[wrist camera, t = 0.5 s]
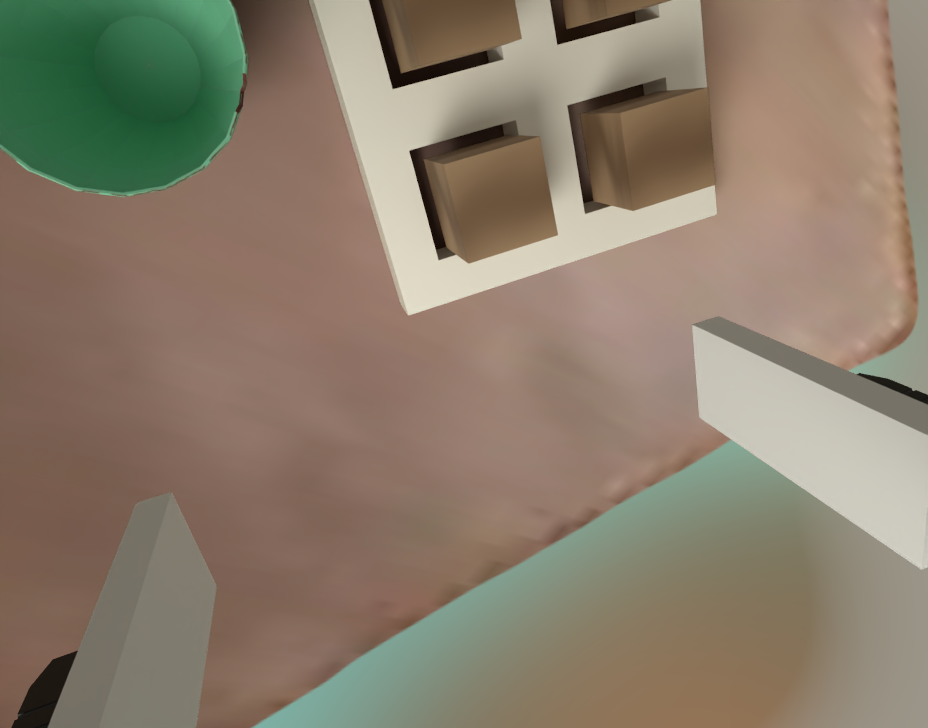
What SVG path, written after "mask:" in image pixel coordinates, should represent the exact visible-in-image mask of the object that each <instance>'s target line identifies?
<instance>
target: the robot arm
mask: <svg viewBox="0 0 928 728" xmlns="http://www.w3.org/2000/svg"><path fill="white" fill-rule="evenodd" d="M692 328H693V341H694V354H695V366H696V379H697V392H698V405H699V417H700V418H701V419H702V420H704V421H705V422H707V423H708V424H710V425H711V426H713V427H714V428H716V429H717V430H719V431H720V432H721V433H723V434H724V435H726V436H727V437H729V438H730V439H732V440H733V441H735V442H736V443H738V444H739V445H740V446H742V447H743V448H745V449H746V450H748V451H749V452H751V453H752V454H754V455H755V456H756V457H758V458H760V459H761V460H762V461H764V462H765V463H767V464H768V465H770V466H771V467H773V468H774V469H775V470H777V471H779V472H780V473H781V474H783V475H784V476H786V477H787V478H789V479H790V480H791V481H793V482H794V483H796V484H797V485H799V486H800V487H802V488H803V489H805V490H806V491H808V492H809V493H811V494H812V495H813V496H815V497H816V498H818V499H819V500H821V501H822V502H824V503H825V504H827V505H828V506H829V507H831V508H832V509H834V510H835V511H837V512H838V513H840V514H841V515H843V516H844V517H846V518H847V519H848V520H850V521H851V522H853V523H854V524H856V525H857V526H859V527H860V528H862V529H863V530H865V531H866V532H867V533H869V534H870V535H872V536H873V537H875V538H876V539H878V540H879V541H881V542H882V543H884V544H885V545H886V546H888V547H889V548H891V549H892V550H894V551H895V552H897V553H898V554H900V555H901V556H903V557H904V558H906V559H907V560H908V561H910V562H911V563H913V564H914V565H916V566H917V567H919V568H920V569H925V568H927V567H928V395H927V394H924V393H922V392H919V391H917V390H916V391H912V389H911V388H909V387H907V386H904V385H902V384H900V383H897V382H895V381H892V380H890V379H886V378H881V377H876V376H871V375H866V374H861V373H859V374H854V373H851V372H849V371H847V370H844V369H842V368H840V367H837V366H835V365H833V364H830V363H828V362H826V361H823V360H821V359H818V358H816V357H814V356H811V355H809V354H807V353H804V352H802V351H800V350H797V349H795V348H792V347H790V346H788V345H785V344H783V343H781V342H778V341H776V340H774V339H771V338H769V337H766V336H764V335H762V334H759V333H757V332H755V331H752V330H750V329H748V328H745V327H743V326H740V325H738V324H736V323H733V322H731V321H729V320H726V319H724V318H721V317H719V316H718V317H714V318H711V319H708V320H705V321H702V322H699V323H696V324H693V325H692ZM216 587H217V586H216V584H215V581H214V579H213V577H212V575H211V573H210V571H209V569H208V567H207V565H206V563H205V561H204V559H203V556H202V554H201V552H200V550H199V548H198V546H197V544H196V542H195V540H194V538H193V536H192V534H191V531H190V529H189V527H188V525H187V523H186V521H185V519H184V517H183V515H182V513H181V511H180V508H179V506H178V504H177V502H176V500H175V498H174V496H173V494H172V492H169V493H166V494H163V495H160V496H157V497H154V498H150V499H147V500H144V501H141V502H138V503H136V505H135V507H134V510H133V512H132V515H131V518H130V520H129V523H128V525H127V528H126V530H125V533H124V535H123V538H122V540H121V543H120V545H119V548H118V550H117V553H116V556H115V558H114V561H113V563H112V566H111V568H110V571H109V573H108V576H107V578H106V581H105V583H104V586H103V589H102V591H101V594H100V596H99V599H98V601H97V604H96V606H95V609H94V611H93V614H92V616H91V619H90V622H89V624H88V627H87V629H86V632H85V634H84V637H83V639H82V642H81V644H80V647H79V649H78V651H76V652H73V653H70V654H67V655H64V656H61V657H58V658H56V659H53V660H52V661H51V662H50V664H49V665H48V666H47V667H46V668H45V670H44V671H43V672H42V673H41V674H40V676H39V677H38V678H37V679H36V681H35V682H34V683H33V684H32V685H31V687H30V688H29V690H28V693H27V695H26V697H25V699H24V701H23V704H22V706H21V708H20V710H19V712H18V719H17V720H15V721H14V723H13V725H12V728H196V724H197V717H198V710H199V704H200V697H201V690H202V683H203V676H204V669H205V662H206V655H207V648H208V642H209V635H210V628H211V621H212V614H213V607H214V600H215V593H216Z"/></svg>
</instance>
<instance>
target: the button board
mask: <svg viewBox="0 0 928 728" xmlns="http://www.w3.org/2000/svg"><path fill="white" fill-rule="evenodd" d="M309 4H310V7H311V10H312V13H313V17H314V20H315V23H316V27H317V30H318V33H319V37H320V40H321V43H322V46H323V50H324V53H325V56H326V60H327V63H328V66H329V69H330V73H331V76H332V79H333V83H334V86H335V89H336V93H337V96H338V99H339V102H340V106H341V109H342V112H343V116H344V119H345V122H346V126H347V129H348V132H349V135H350V139H351V142H352V145H353V149H354V152H355V155H356V159H357V162H358V165H359V168H360V172H361V175H362V178H363V182H364V185H365V188H366V192H367V195H368V198H369V201H370V205H371V208H372V211H373V215H374V218H375V221H376V225H377V228H378V231H379V234H380V238H381V241H382V244H383V248H384V251H385V254H386V258H387V261H388V264H389V267H390V271H391V274H392V277H393V281H394V284H395V287H396V291H397V294H398V297H399V300H400V304H401V305H402V307H403V308H404V310H405V311H406V313H407V314H408V315H411V314H414V313H418V312H421V311H424V310H427V309H430V308H433V307H436V306H439V305H442V304H445V303H448V302H451V301H454V300H457V299H460V298H463V297H466V296H469V295H472V294H475V293H478V292H482V291H485V290H488V289H491V288H494V287H497V286H500V285H503V284H506V283H509V282H512V281H515V280H518V279H521V278H524V277H527V276H530V275H533V274H536V273H539V272H543V271H546V270H549V269H552V268H555V267H558V266H561V265H564V264H567V263H570V262H573V261H576V260H579V259H582V258H585V257H588V256H591V255H594V254H597V253H600V252H604V251H607V250H610V249H613V248H616V247H619V246H622V245H625V244H628V243H631V242H634V241H637V240H640V239H643V238H646V237H649V236H652V235H655V234H658V233H661V232H664V231H668V230H671V229H674V228H677V227H680V226H683V225H686V224H689V223H692V222H695V221H698V220H701V219H704V218H707V217H710V216H713V215H716V214H717V210H716V197H715V185H713V186H710V187H707V188H704V189H701V190H698V191H695V192H691V193H688V194H685V195H682V196H679V197H676V198H673V199H670V200H666V201H663V202H660V203H657V204H654V205H651V206H648V207H645V208H641V209H638V210H635V211H631V210H627V209H623V208H619V207H615V206H611V205H607V204H603V203H599V202H595V201H591V202H587V203H584V204H583V199H582V193H581V186H580V180H579V174H578V168H577V162H576V156H575V150H574V144H573V138H572V132H571V125H570V119H569V113H568V107H567V105H570V104H574V103H577V102H581V101H584V100H588V99H591V98H595V97H598V96H602V95H605V94H609V93H612V92H616V91H619V90H623V89H626V88H630V87H633V86H637V85H640V84H643V90H644V95H647V94H651V93H654V92H658V91H668V90H681V89H693V88H706V87H707V81H706V68H705V55H704V42H703V29H702V16H701V3H700V0H671V1H668V2H665V3H661V4H658V5H655V6H652V7H648V8H644V9H641V10H637V11H634V12H635V21H636V24H633V25H629V26H626V27H622V28H618V29H614V30H611V31H607V32H603V33H600V34H596V35H592V36H589V37H585V38H581V39H577V40H574V41H570V42H566V43H563V44H559V45H557V40H556V34H555V28H554V22H553V16H552V10H551V4H550V0H515V4H516V9H517V15H518V20H519V25H520V31H521V36H522V39H520V40H517V41H514V42H511V43H508V44H505V45H502V46H499V47H496V48H494V49H490V50H487V55H488V60H489V63H488V64H485V65H481V66H477V67H474V68H470V69H466V70H462V71H459V72H455V73H451V74H448V75H444V76H440V77H437V78H433V79H429V80H425V81H422V82H418V83H414V84H411V85H407V86H403V87H399V88H396V89H392V85H391V81H390V78H389V74H388V70H387V66H386V63H385V59H384V55H383V52H382V48H381V44H380V40H379V37H378V33H377V29H376V25H375V22H374V18H373V14H372V11H371V7H370V3H369V0H309ZM500 124H502V127H503V132H504V136H506V135H523V136H540V139H541V145H542V150H543V156H544V161H545V167H546V172H547V177H548V183H549V188H550V194H551V199H552V205H553V210H554V215H555V221H556V226H557V232H558V235H557V236H554V237H551V238H548V239H545V240H541V241H538V242H535V243H532V244H529V245H526V246H523V247H519V248H516V249H513V250H510V251H507V252H504V253H501V254H498V255H494V256H491V257H488V258H485V259H482V260H479V261H476V262H473V263H469V264H468V263H467V262H465V261H464V260H463V259H461V258H460V257H459V256H457V255H456V254H455V253H453V252H452V251H451V250H449V249H448V248H447V247H444V248H441V249H438V250H436V249H435V245H434V242H433V238H432V234H431V230H430V227H429V223H428V219H427V215H426V212H425V208H424V204H423V201H422V197H421V193H420V189H419V186H418V182H417V178H416V175H415V171H414V167H413V163H412V160H411V156H410V152H409V151H410V150H413V149H417V148H420V147H424V146H427V145H431V144H434V143H438V142H441V141H445V140H448V139H452V138H455V137H459V136H462V135H466V134H469V133H472V132H476V131H479V130H483V129H486V128H490V127H493V126H497V125H500Z"/></svg>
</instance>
